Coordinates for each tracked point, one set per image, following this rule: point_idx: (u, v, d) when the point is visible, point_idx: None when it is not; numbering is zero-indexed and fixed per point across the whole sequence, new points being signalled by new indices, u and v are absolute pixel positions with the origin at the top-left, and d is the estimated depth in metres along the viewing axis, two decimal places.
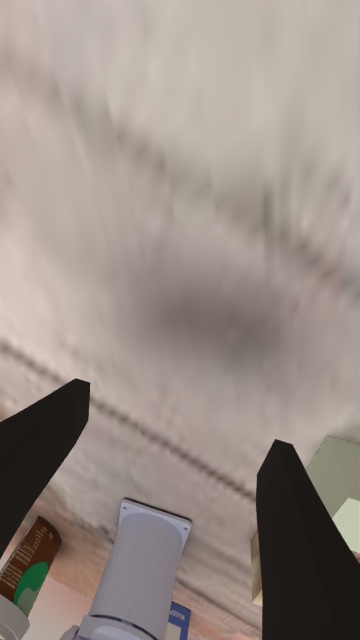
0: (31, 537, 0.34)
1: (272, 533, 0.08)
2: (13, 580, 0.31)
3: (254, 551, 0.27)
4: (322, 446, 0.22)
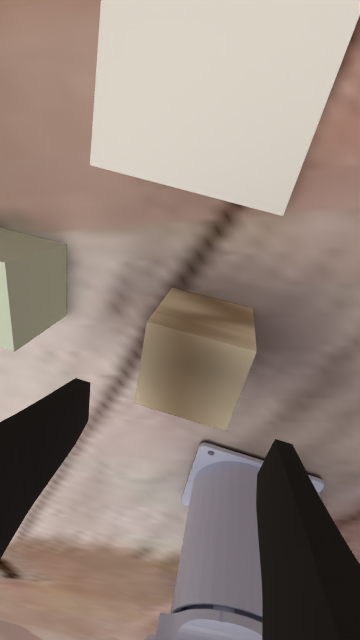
0: None
1: (271, 533, 0.08)
2: None
3: None
4: None
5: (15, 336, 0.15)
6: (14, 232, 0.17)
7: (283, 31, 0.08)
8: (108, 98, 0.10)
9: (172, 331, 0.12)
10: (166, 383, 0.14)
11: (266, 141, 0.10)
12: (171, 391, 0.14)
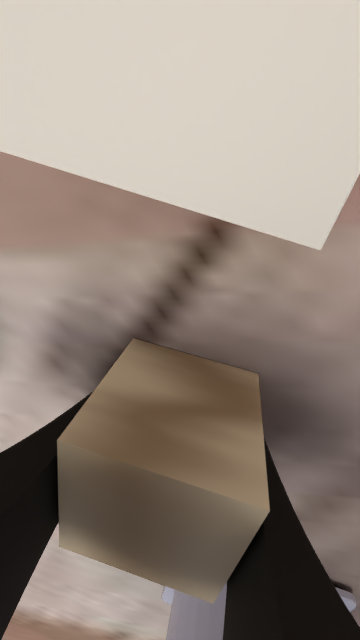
0: None
1: None
2: None
3: None
4: None
5: None
6: None
7: None
8: None
9: (106, 460, 0.06)
10: (106, 529, 0.08)
11: (295, 68, 0.04)
12: (116, 542, 0.08)
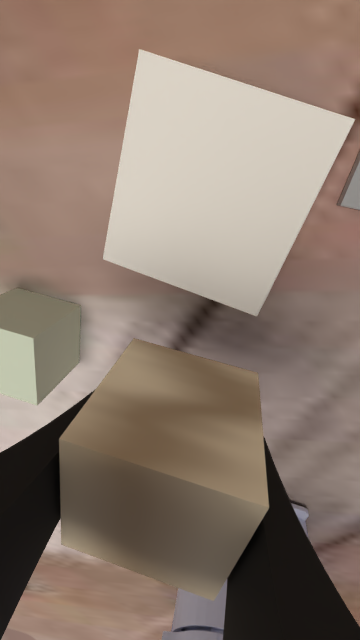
0: None
1: None
2: None
3: None
4: None
5: (39, 392, 0.17)
6: (35, 294, 0.19)
7: (262, 193, 0.11)
8: (122, 215, 0.12)
9: (108, 458, 0.06)
10: (107, 527, 0.08)
11: (246, 263, 0.12)
12: (118, 539, 0.08)
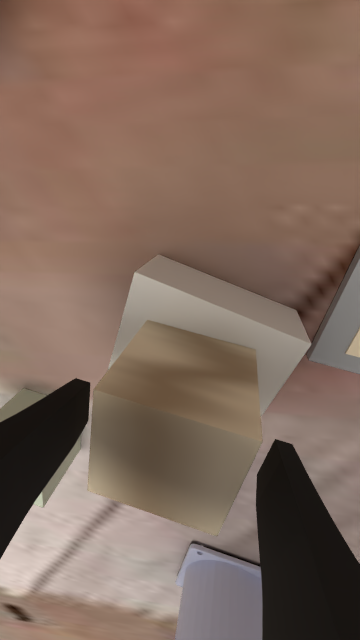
0: None
1: (272, 533, 0.08)
2: None
3: None
4: None
5: (44, 497, 0.19)
6: (40, 396, 0.21)
7: None
8: None
9: (133, 404, 0.08)
10: (129, 471, 0.09)
11: None
12: (137, 481, 0.09)
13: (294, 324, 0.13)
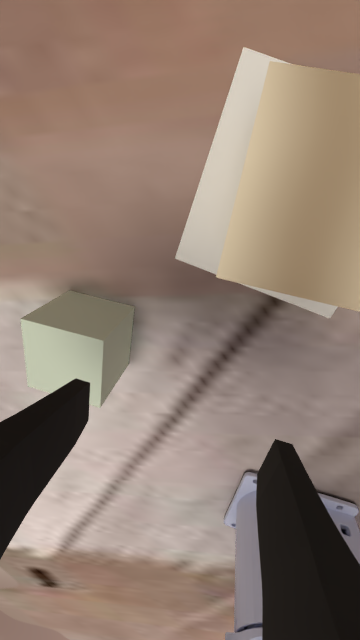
0: None
1: (271, 533, 0.08)
2: None
3: None
4: None
5: (102, 395, 0.17)
6: (88, 296, 0.19)
7: None
8: (201, 214, 0.12)
9: (325, 77, 0.06)
10: (286, 221, 0.07)
11: None
12: (294, 240, 0.07)
13: None
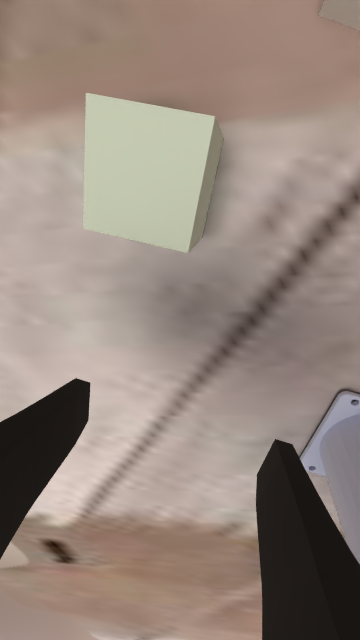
0: None
1: (271, 533, 0.08)
2: None
3: None
4: None
5: (192, 232, 0.12)
6: None
7: None
8: None
9: None
10: None
11: None
12: None
13: None
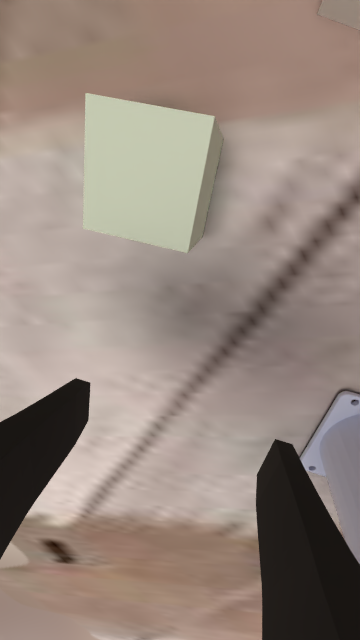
0: None
1: (271, 533, 0.08)
2: None
3: None
4: None
5: (192, 232, 0.12)
6: None
7: None
8: None
9: None
10: None
11: None
12: None
13: None
